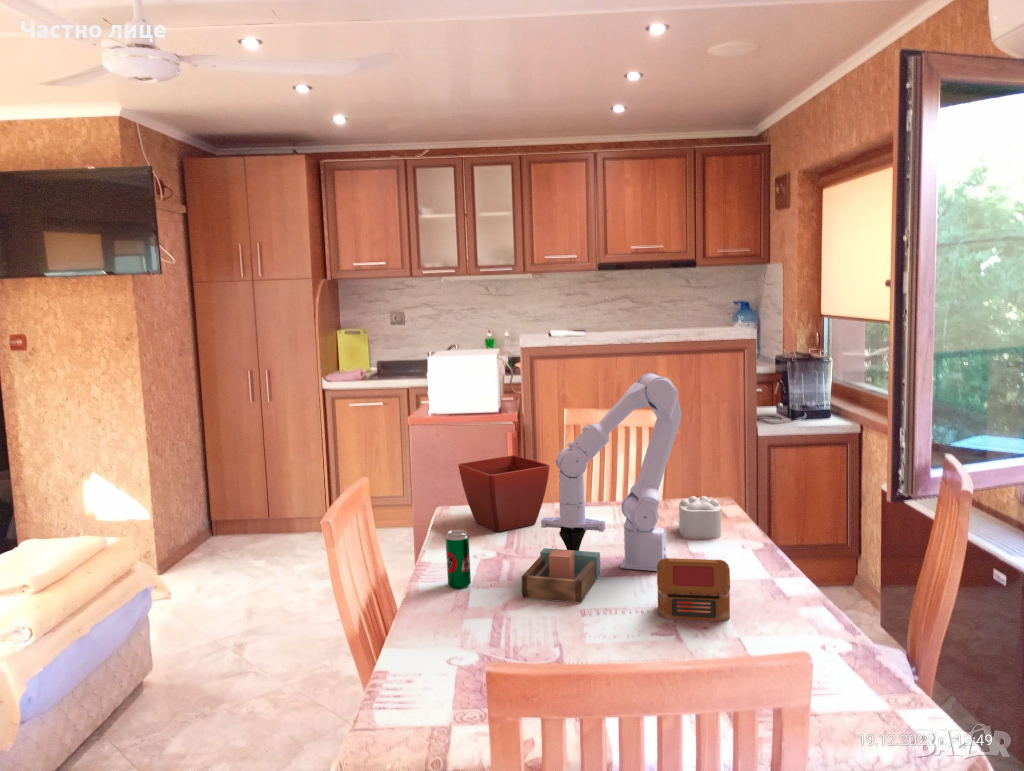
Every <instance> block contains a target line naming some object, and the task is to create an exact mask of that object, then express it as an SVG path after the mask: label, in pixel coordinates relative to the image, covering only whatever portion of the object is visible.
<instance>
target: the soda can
mask: <svg viewBox="0 0 1024 771" xmlns="http://www.w3.org/2000/svg"><path fill="white" fill-rule="evenodd" d="M470 554H471V553H470V537H469V535H468V531H467V530H465V529H454V530H453V529H452V530H448V532H447V533H446V537H445V556H446V574H447V584H448V586H449V587H450V588H451V589H456V590H462V589H466V588H468V587H469V586H470V585H471V583H472V580H471V578H472V576H471V557H470Z"/></svg>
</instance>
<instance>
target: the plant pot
mask: <svg viewBox="0 0 1024 771" xmlns="http://www.w3.org/2000/svg"><path fill="white" fill-rule="evenodd" d="M458 470H459V474H460V475H459V476H460V479H461V485H462V488H463V491H464V494H465V497H466V501H467V504H468V506H469V509H470V512H471V514H472V516H473V519H474V521H475V522H476V523H477V524H479V525H481V526H484V527H486V528H487V529H490V530H492V531H494V532H504V531H507V530H513V529H519V528H523V527H529V526H532V525H535V524H536V523H537V521H538V518H539V515H540V511H541V509H542V505H543V503H544V502H543V501H544V498H545V495H546V490H547V485H548V480H549V474H550V464H548V463H547V464H546V463H544V462H540V461H537V460H533V459H530V458H526V457H522V456H519V455H516V454H515V455H507V456H506V455H505V456H501V457H494V458H487V459H480V460H474V461H468V462H462V463H461V462H459V463H458Z"/></svg>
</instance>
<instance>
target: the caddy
mask: <svg viewBox="0 0 1024 771" xmlns="http://www.w3.org/2000/svg"><path fill="white" fill-rule="evenodd" d="M544 565H545V558H544V557H540V556H539V557H538V558H537V559H536V560H535V562H533V564H532V565H531V566H530V567H529V568H528V569H526V571H525V572H524V573H523V574H522V576H521V594H522V598H524V599H525V598H527V599H535V600H547V601H557V602H567V603H576V604H582V603H583V601H585V600H584V599H585V598H586V597H587V595H588V594H589V593H590V591H591V589H592V588H593V585H594V584H595V583H596V579H595V562H593V561H589V563H588V564H587V565H586V567H585V568H584V569H583V571H582V572H581V574H580V575H579V576H578V578H577V579H576V580H574V579H563V578H552V577H541V576H536V574H537V573H538V572H539V571H540V570H541V569H542V568H543V566H544Z"/></svg>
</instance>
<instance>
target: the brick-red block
mask: <svg viewBox="0 0 1024 771" xmlns="http://www.w3.org/2000/svg"><path fill="white" fill-rule="evenodd" d="M553 549H554V550H553V551H552V553H551V554H550V555H549V573H550V577H552V578H563V579H574V578H575V563H574V550H567V549H562V550H559V549H560V548H553Z"/></svg>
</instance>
